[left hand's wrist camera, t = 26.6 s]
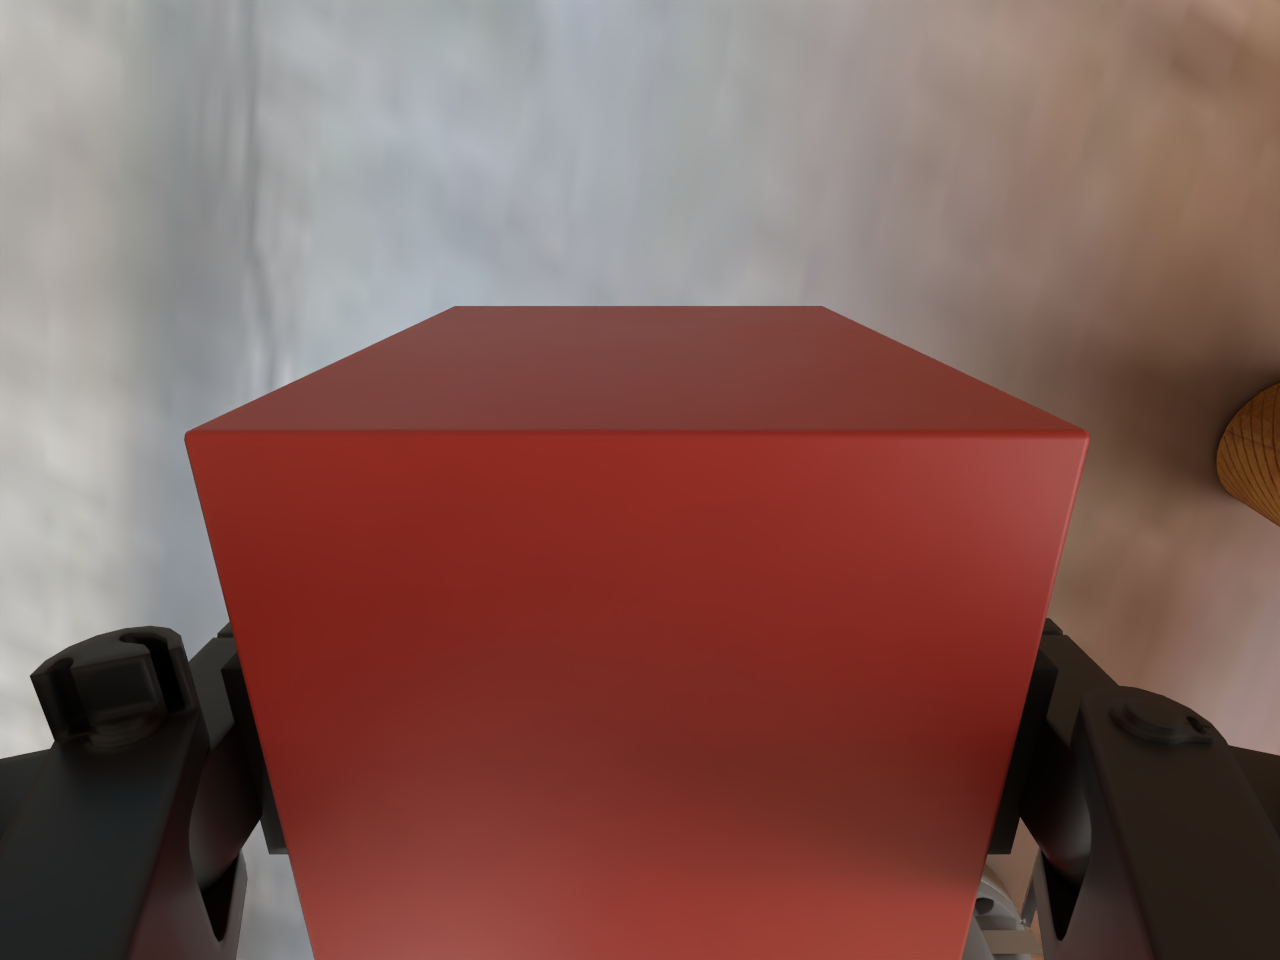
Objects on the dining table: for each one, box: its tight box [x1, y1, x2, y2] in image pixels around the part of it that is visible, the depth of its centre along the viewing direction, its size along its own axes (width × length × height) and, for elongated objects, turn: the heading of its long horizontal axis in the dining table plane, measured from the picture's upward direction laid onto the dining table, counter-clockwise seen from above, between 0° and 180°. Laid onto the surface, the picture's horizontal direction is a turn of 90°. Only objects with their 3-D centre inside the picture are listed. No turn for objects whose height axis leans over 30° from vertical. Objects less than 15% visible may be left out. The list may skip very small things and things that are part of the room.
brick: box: [184, 306, 1090, 960], centre depth 11 cm, size 8×8×9 cm
